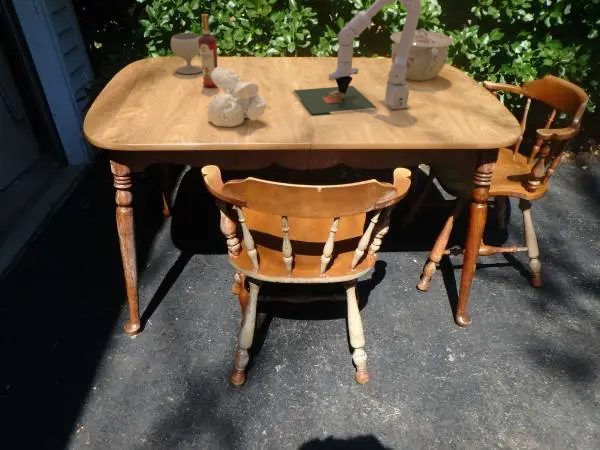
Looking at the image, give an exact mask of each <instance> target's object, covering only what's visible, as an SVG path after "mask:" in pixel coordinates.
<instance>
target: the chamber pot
mask: <svg viewBox="0 0 600 450" xmlns="http://www.w3.org/2000/svg"><path fill="white" fill-rule="evenodd" d="M402 31H403V30H402ZM402 31H396V32H393V33H392V34H391V35H390V36H389V38H390V40H391V41H393V42H395V43H394V45H392V47H391V52H390V53H391V55H390V56H391V63H392V64H393V63H394V62H395V58H396V54H397V51H398V47H399V43H400V39H401V35H402ZM454 43H455V40H454V39H453V38H452V37H451V36H448V35H446V34H443V33H440V32H436V31H431V30H426V29H425V28H423V27H422V28H419V29H418V30H417V29H416V30H415V34H414V37H413V41H412V45H411V48H410V52H409V56H408V59H407V63H406V65H407V72H406V76H405V80H410V81H416V82H423V81H429V80H433V79H434V78H436V77H438V75H439V74H440V72H441V71H442V70H443V69H444V67H445V65H446V62H447V61H448V55H449V50H448V47H449V46H451V45H453V44H454ZM392 64H391V65H392Z"/></svg>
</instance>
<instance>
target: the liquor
mask: <svg viewBox="0 0 600 450" xmlns="http://www.w3.org/2000/svg"><path fill="white" fill-rule="evenodd" d="M201 21H202V35H201V36H200V38H199V39H198V43H199V51H200V54H199V57H200V62H201V64H200V65H201V67H202V71H201V72H202V78H203V81H202V84H203V85H204V86H205V87H207V88H216V87H217V86H216V85H215V83H214V82H213V81H212V78H211V74H212V71H214V69H215V68H216V67H217V68H218V45H217V43H218V42H217V38H216V37H215V36H213V35H211V30H210V23H209V22H210V17H209V14H208V13H203V14H201Z"/></svg>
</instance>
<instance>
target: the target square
mask: <svg viewBox="0 0 600 450" xmlns="http://www.w3.org/2000/svg"><path fill="white" fill-rule="evenodd" d="M322 98H323V100H324V101H325V102H326V103H336V102H342V101H341V100H339V101H335V100H333V99H330V98H329V97H322Z"/></svg>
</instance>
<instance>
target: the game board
mask: <svg viewBox="0 0 600 450" xmlns="http://www.w3.org/2000/svg"><path fill="white" fill-rule="evenodd" d="M293 91H294V93H295V95H297V97H298V98H299V101H300V103H301V104H302V105H303V106H304V107H305V109H306V110H307V111H308V112H309V114H310V115H311V116H320V115H321V116H322V115H332V114H333V113H334V112H345V111H346V112H347V111H357V110H368V109H377V106H376V105H374V104H373V103H372V102H371V101H370V100H369V99H368V98H367V97H365V96H364V95H363V94H362V92H360V91H359V90H358V89H357V88H355V87H354V86H353V85H349V86H348V88H347V91H346V94H345V97H344V99H341V101H342V102H336V103H326V102H325V101H324V100H323V98H322V97H329V93H331V92H334V91H339V88H338V86H332V87H318V88H304V89H293Z"/></svg>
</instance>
